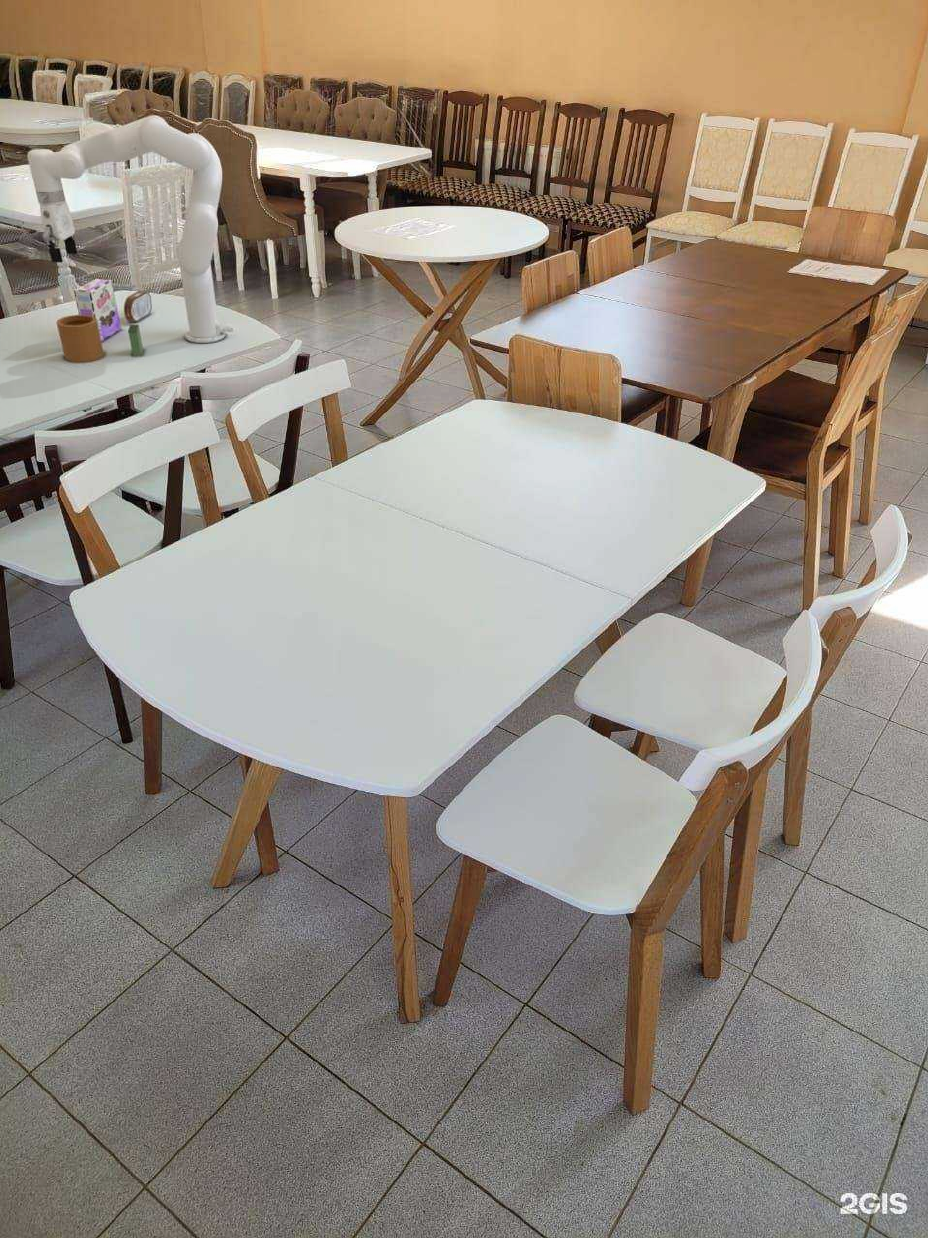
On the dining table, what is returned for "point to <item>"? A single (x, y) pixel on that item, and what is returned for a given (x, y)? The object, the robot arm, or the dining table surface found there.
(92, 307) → the candy box
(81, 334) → the jar
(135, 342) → the block
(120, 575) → the dining table surface
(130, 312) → the tin
